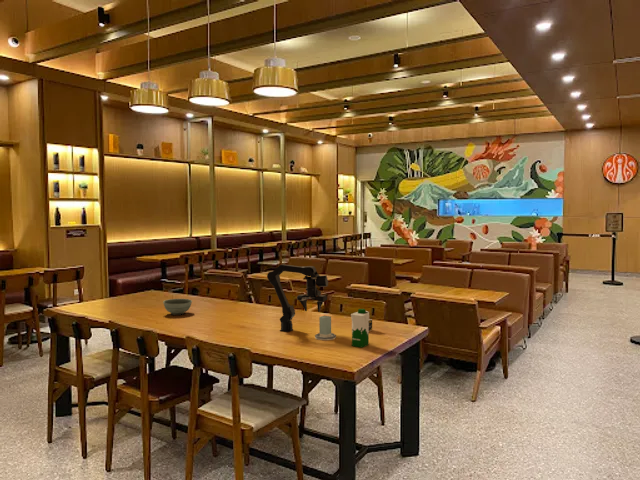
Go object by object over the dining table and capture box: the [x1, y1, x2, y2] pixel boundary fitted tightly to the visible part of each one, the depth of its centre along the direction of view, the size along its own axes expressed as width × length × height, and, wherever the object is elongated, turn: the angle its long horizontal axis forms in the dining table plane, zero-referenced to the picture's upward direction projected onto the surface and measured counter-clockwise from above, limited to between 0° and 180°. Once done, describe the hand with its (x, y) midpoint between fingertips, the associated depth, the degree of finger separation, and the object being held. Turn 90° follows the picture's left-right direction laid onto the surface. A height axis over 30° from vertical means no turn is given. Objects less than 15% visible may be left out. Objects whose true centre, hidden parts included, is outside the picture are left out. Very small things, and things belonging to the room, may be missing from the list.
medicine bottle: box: [365, 310, 373, 332], centre depth 307 cm, size 7×7×12 cm
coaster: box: [314, 332, 337, 341], centre depth 290 cm, size 12×12×2 cm
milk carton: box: [350, 308, 370, 348], centre depth 272 cm, size 9×9×20 cm
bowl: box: [162, 298, 193, 316], centre depth 363 cm, size 21×21×10 cm
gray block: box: [318, 315, 332, 337], centre depth 290 cm, size 5×5×12 cm
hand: (312, 311), depth 303 cm, fingers open, 9 cm apart
